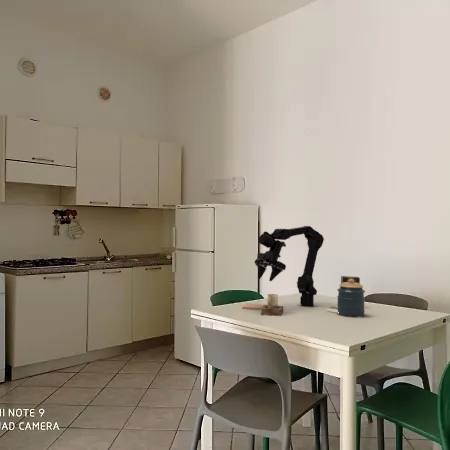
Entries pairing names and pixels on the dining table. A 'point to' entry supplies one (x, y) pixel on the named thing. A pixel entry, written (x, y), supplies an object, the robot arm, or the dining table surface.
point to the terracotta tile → (253, 306)
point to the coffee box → (346, 278)
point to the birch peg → (272, 301)
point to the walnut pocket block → (272, 311)
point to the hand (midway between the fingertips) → (264, 280)
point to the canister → (351, 299)
